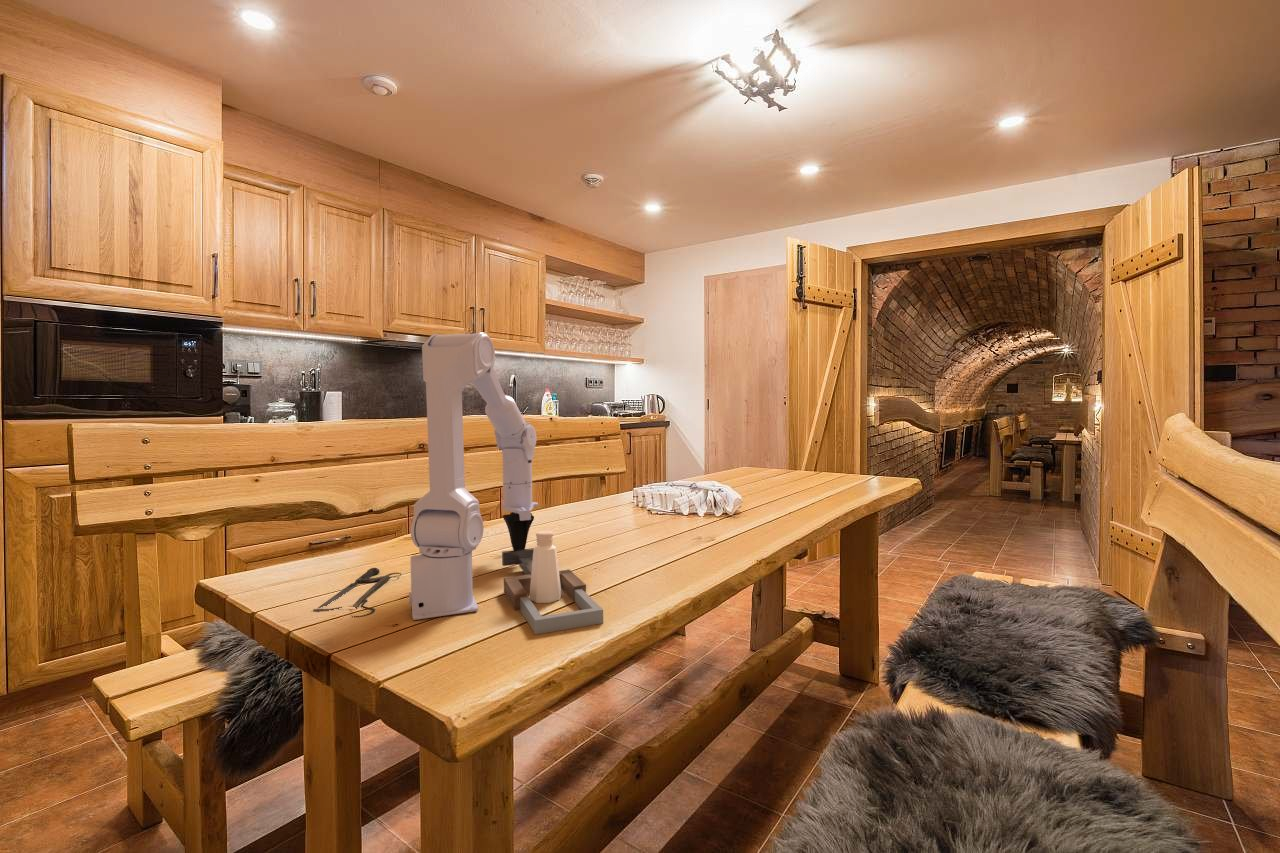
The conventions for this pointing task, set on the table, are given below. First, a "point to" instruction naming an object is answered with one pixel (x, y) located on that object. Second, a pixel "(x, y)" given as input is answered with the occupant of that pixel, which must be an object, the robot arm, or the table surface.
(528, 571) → the release key
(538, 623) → the grey u-shaped frame
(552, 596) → the pepper shaker
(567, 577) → the holder
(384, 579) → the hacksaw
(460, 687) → the table surface
